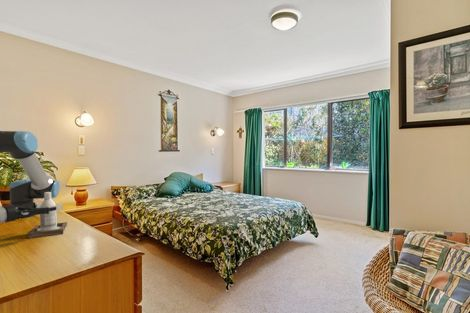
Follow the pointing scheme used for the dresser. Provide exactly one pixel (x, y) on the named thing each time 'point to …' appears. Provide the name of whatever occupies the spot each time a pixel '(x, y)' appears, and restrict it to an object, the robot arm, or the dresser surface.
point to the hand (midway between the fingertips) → (56, 205)
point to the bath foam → (48, 219)
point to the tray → (38, 233)
